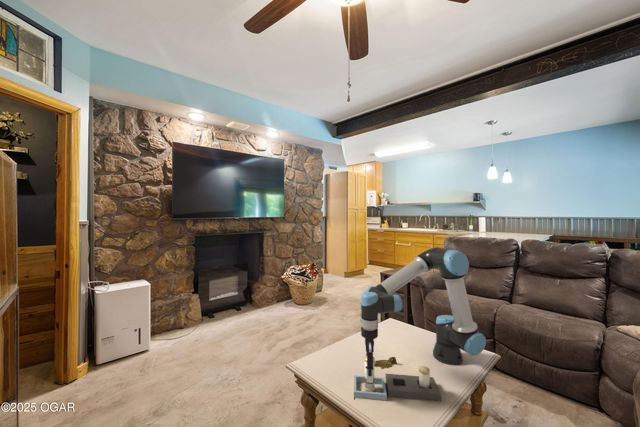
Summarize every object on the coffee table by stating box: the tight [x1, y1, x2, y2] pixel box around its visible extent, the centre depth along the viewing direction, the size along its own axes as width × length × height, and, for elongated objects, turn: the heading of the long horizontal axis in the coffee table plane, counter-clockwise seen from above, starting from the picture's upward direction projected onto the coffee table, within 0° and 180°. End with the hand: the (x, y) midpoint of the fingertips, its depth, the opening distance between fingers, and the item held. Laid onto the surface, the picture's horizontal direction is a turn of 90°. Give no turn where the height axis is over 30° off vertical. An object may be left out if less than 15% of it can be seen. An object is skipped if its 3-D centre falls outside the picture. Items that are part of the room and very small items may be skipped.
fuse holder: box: [385, 373, 442, 403], centre depth 120 cm, size 22×12×4 cm, turn 82°
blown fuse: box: [363, 355, 376, 392], centre depth 121 cm, size 5×5×14 cm
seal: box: [374, 356, 398, 370], centre depth 141 cm, size 9×5×15 cm
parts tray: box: [353, 375, 388, 401], centre depth 121 cm, size 14×12×3 cm
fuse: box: [418, 365, 431, 389], centre depth 120 cm, size 5×5×10 cm
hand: (369, 378), depth 121 cm, fingers closed on blown fuse, 4 cm apart
